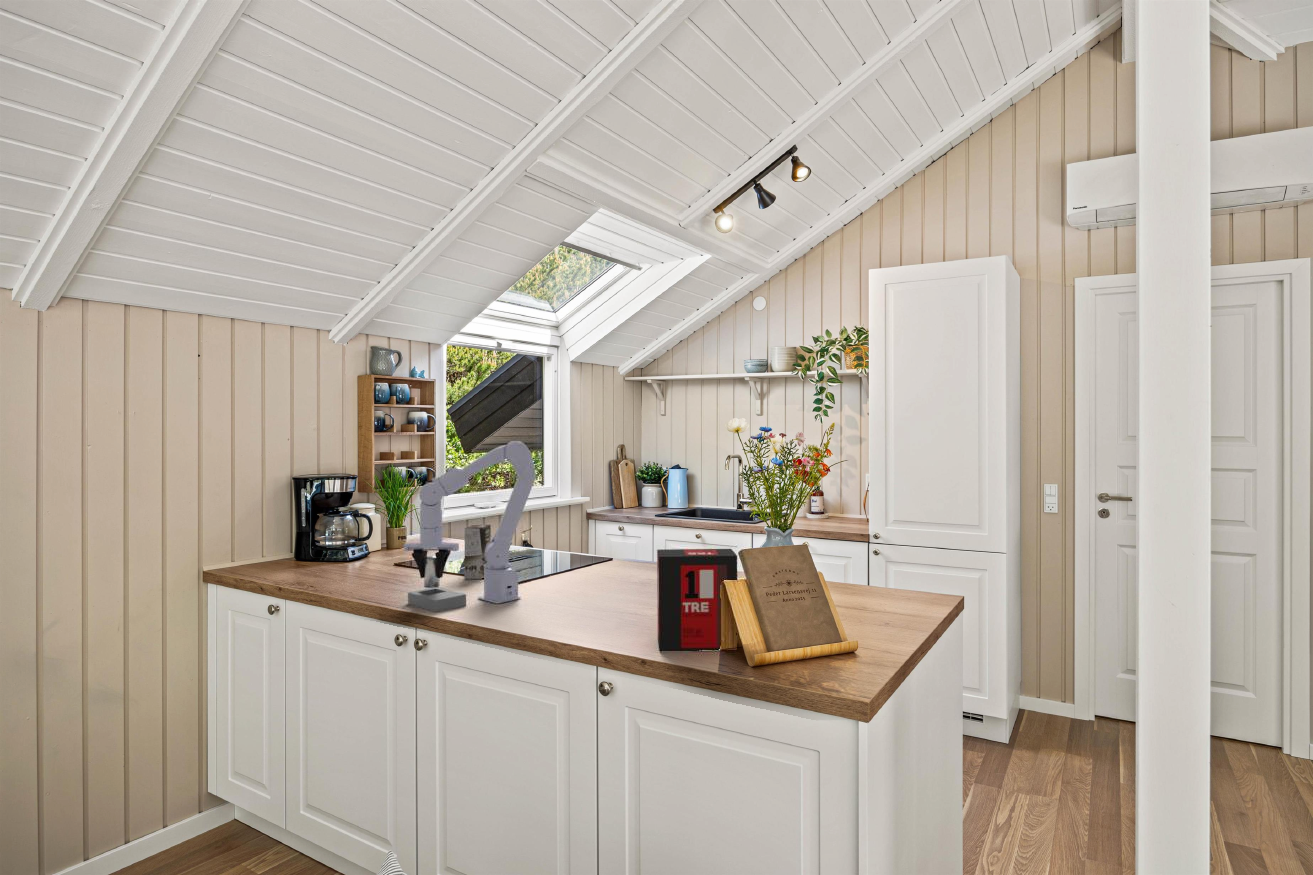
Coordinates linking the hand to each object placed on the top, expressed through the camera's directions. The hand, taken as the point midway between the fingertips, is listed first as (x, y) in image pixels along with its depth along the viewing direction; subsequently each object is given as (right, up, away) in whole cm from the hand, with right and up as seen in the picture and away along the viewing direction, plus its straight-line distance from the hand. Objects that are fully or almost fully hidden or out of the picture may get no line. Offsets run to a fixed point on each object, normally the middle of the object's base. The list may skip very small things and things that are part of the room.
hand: (431, 577), depth 190 cm
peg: (0, -3, 0) cm, 3 cm away
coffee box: (+4, -7, +35) cm, 36 cm away
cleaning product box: (+70, -7, -38) cm, 80 cm away
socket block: (+2, -7, -2) cm, 7 cm away
